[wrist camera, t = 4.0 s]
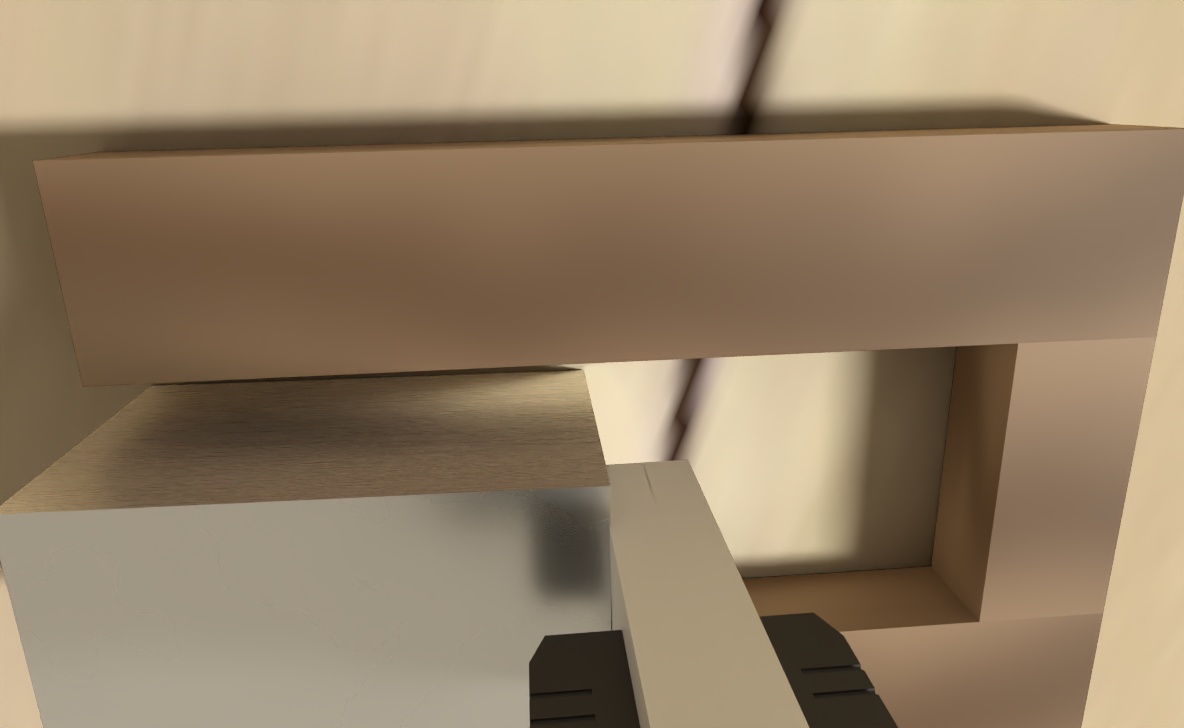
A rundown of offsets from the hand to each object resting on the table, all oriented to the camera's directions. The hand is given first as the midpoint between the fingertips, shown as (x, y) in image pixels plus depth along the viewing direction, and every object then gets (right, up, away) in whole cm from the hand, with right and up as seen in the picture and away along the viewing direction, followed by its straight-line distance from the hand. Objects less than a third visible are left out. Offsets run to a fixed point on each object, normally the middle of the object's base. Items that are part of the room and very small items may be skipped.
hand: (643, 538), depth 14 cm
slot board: (0, +1, +3) cm, 3 cm away
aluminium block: (-5, 0, +3) cm, 6 cm away
